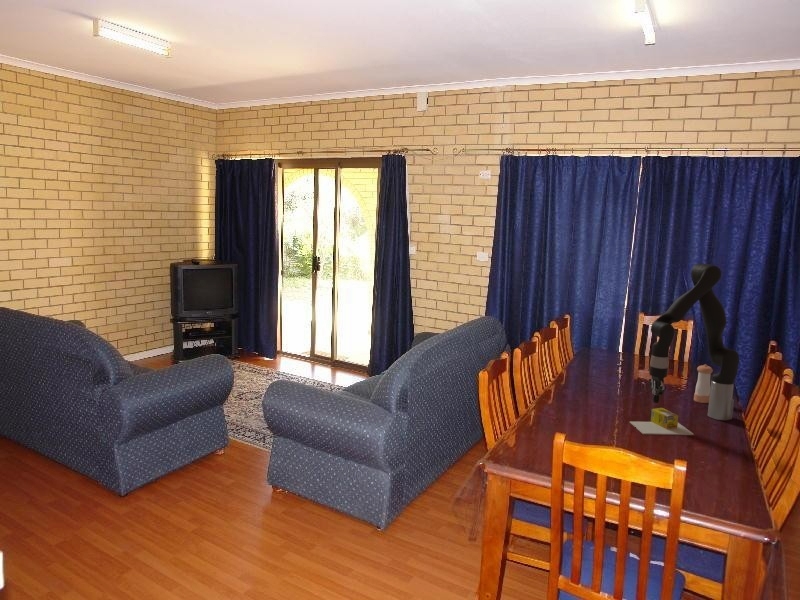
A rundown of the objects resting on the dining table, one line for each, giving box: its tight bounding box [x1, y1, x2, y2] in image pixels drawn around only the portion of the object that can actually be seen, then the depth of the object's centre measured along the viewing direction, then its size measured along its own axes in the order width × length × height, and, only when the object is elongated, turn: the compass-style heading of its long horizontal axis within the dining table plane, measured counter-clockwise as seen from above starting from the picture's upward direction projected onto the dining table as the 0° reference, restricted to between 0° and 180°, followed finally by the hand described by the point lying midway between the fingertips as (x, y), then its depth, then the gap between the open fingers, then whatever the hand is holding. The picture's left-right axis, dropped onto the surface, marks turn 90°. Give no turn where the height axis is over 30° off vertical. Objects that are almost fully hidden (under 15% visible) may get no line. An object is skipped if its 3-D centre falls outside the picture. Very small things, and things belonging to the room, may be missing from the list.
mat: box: [629, 421, 695, 436], centre depth 253 cm, size 22×14×1 cm, turn 91°
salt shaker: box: [693, 363, 714, 404], centre depth 292 cm, size 7×7×19 cm
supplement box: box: [649, 407, 679, 429], centre depth 256 cm, size 6×6×11 cm
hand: (655, 402), depth 260 cm, fingers closed
